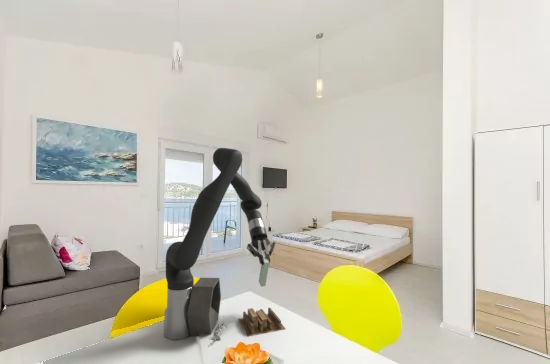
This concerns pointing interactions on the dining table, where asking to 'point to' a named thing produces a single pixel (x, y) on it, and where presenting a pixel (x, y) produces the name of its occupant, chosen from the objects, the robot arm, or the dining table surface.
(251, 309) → the offcut
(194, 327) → the planter
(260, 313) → the offcut
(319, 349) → the dining table surface
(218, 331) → the white statue
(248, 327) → the rack
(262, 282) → the pale green block
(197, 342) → the dining table surface
